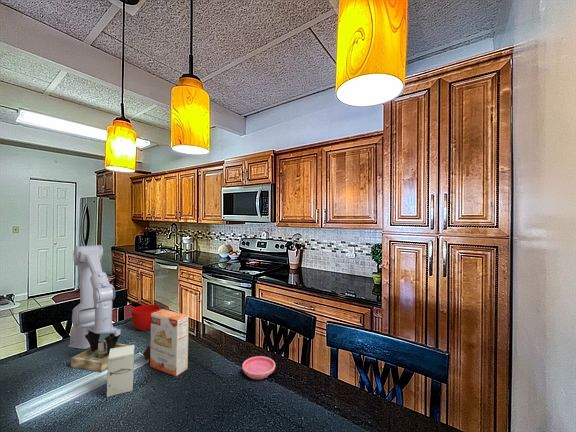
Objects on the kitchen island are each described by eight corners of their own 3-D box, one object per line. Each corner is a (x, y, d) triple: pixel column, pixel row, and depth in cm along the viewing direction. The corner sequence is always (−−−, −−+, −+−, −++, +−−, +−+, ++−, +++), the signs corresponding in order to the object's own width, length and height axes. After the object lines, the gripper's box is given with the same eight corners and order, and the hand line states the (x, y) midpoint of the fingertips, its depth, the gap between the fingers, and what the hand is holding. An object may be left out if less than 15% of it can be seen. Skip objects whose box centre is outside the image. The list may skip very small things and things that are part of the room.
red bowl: (144, 337, 127) (144, 316, 127) (125, 329, 137) (126, 309, 137) (169, 328, 138) (169, 309, 138) (150, 321, 147) (151, 302, 147)
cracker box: (148, 367, 102) (150, 312, 103) (162, 360, 108) (163, 308, 108) (175, 377, 96) (176, 319, 97) (188, 369, 102) (189, 314, 102)
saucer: (267, 360, 109) (267, 353, 109) (280, 377, 98) (280, 368, 98) (237, 368, 104) (238, 360, 104) (248, 386, 93) (248, 377, 93)
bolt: (163, 346, 123) (152, 363, 108) (153, 341, 122) (140, 357, 108) (170, 335, 124) (160, 350, 109) (160, 330, 123) (148, 344, 108)
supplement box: (105, 398, 85) (106, 358, 85) (108, 385, 92) (109, 347, 92) (132, 391, 89) (133, 353, 89) (133, 379, 95) (134, 343, 95)
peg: (95, 360, 106) (96, 342, 106) (102, 356, 109) (103, 339, 109) (102, 361, 105) (102, 343, 105) (109, 357, 108) (109, 339, 108)
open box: (70, 367, 102) (70, 358, 102) (103, 349, 115) (103, 341, 115) (101, 372, 99) (101, 362, 99) (131, 353, 113) (131, 345, 113)
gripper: (126, 315, 110) (126, 348, 110) (97, 312, 113) (96, 344, 113) (112, 322, 103) (111, 357, 103) (81, 318, 106) (80, 353, 106)
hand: (102, 351), depth 107 cm, fingers open, 7 cm apart
